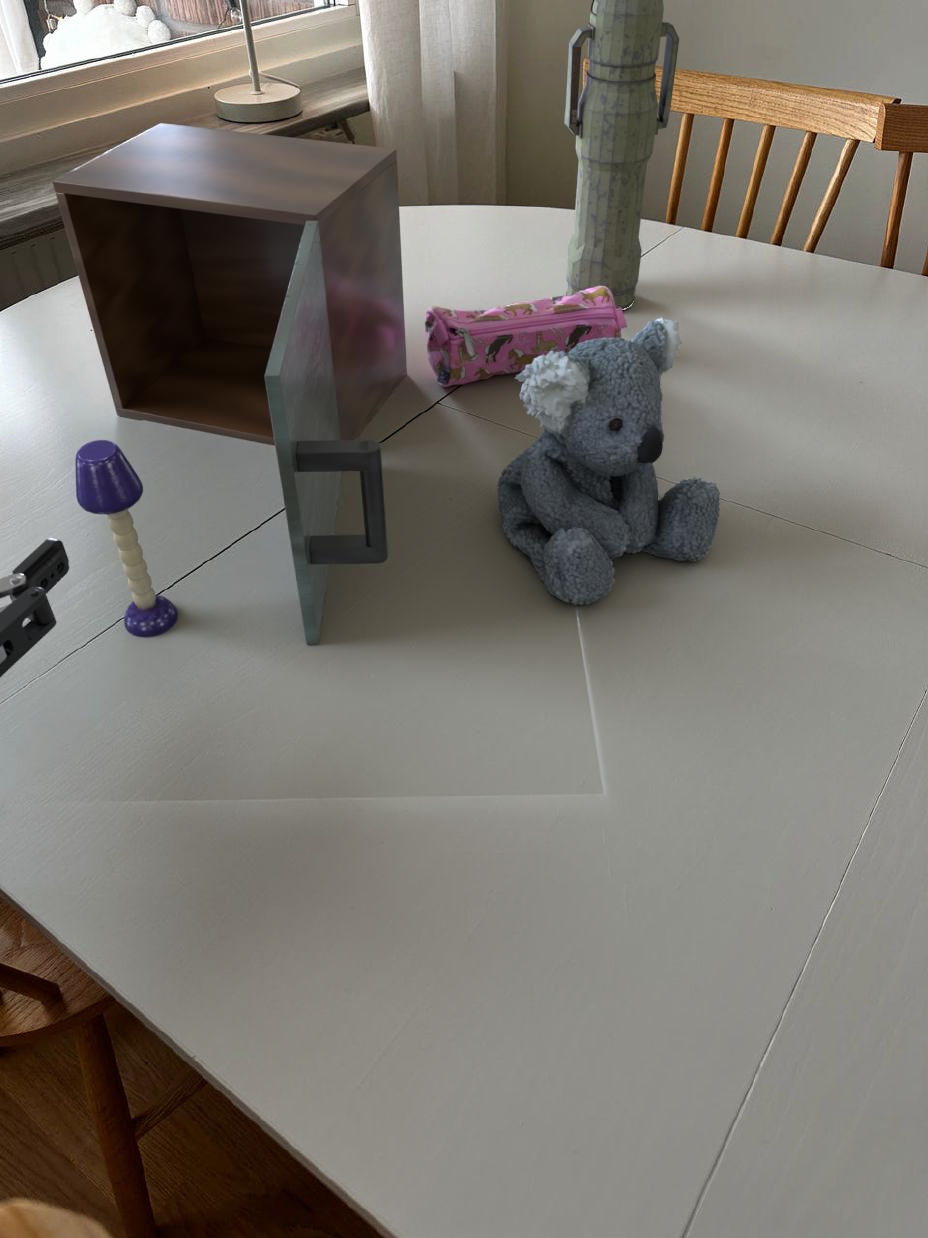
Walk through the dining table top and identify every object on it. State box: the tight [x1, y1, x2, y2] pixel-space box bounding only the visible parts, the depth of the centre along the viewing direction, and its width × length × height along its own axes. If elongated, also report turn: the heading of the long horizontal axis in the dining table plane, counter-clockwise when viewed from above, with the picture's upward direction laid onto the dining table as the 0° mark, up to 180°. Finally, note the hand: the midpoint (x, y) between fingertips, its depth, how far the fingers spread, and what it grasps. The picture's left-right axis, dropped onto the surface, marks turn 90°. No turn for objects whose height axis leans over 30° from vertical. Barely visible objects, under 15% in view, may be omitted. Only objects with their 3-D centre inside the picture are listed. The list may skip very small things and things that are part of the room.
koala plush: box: [496, 315, 721, 606], centre depth 82 cm, size 17×18×20 cm
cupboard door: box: [264, 221, 389, 646], centre depth 79 cm, size 7×26×24 cm, turn 1°
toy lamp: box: [74, 439, 179, 638], centre depth 74 cm, size 5×5×17 cm
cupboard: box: [51, 122, 408, 447], centre depth 99 cm, size 18×26×24 cm
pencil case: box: [424, 286, 628, 388], centre depth 107 cm, size 21×9×9 cm, turn 105°
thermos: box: [563, 0, 680, 309], centre depth 112 cm, size 9×12×35 cm
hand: (3, 536), depth 62 cm, fingers open, 8 cm apart
